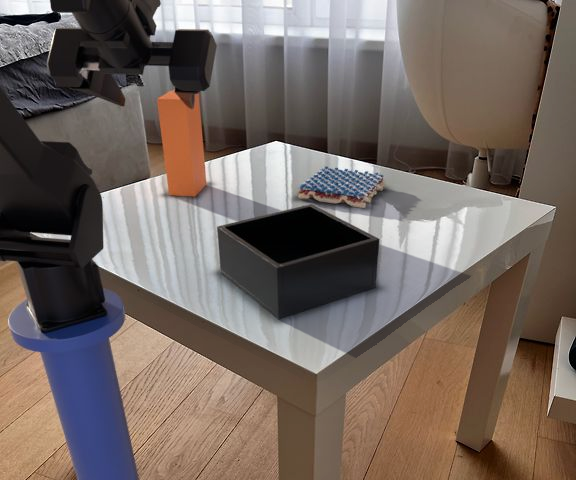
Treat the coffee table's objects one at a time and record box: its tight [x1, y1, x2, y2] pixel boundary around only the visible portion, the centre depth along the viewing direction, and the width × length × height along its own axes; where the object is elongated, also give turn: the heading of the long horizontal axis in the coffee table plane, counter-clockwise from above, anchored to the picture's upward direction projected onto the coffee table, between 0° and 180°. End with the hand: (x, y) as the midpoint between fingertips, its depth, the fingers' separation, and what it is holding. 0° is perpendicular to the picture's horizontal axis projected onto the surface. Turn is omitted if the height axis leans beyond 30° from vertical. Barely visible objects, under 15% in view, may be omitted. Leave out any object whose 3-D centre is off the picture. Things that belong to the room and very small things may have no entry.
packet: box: [156, 90, 208, 198], centre depth 88 cm, size 6×4×13 cm
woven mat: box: [297, 165, 386, 209], centre depth 89 cm, size 10×11×2 cm
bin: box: [216, 203, 380, 320], centre depth 65 cm, size 12×12×6 cm
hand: (157, 104), depth 77 cm, fingers open, 9 cm apart
